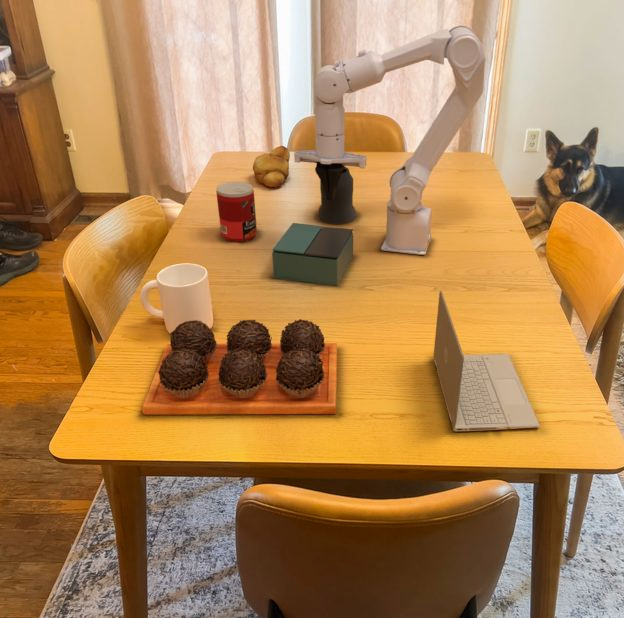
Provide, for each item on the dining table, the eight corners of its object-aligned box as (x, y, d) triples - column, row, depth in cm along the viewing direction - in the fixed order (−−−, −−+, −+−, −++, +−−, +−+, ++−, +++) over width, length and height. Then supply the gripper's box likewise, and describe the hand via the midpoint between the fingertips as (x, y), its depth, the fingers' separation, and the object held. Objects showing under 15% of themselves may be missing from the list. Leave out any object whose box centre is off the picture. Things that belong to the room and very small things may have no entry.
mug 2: (355, 224, 154) (356, 177, 147) (316, 223, 154) (314, 176, 148) (357, 204, 164) (357, 159, 157) (320, 204, 164) (319, 158, 158)
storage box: (353, 256, 140) (353, 229, 137) (337, 285, 130) (337, 256, 126) (293, 250, 143) (292, 222, 139) (273, 278, 132) (271, 249, 129)
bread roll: (288, 190, 171) (286, 159, 166) (250, 190, 171) (247, 159, 166) (291, 172, 182) (290, 143, 177) (255, 172, 181) (253, 143, 177)
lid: (353, 230, 137) (353, 229, 137) (336, 258, 127) (336, 256, 126) (323, 228, 138) (323, 226, 138) (304, 255, 128) (304, 253, 128)
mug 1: (138, 337, 114) (127, 284, 109) (153, 312, 121) (144, 261, 115) (207, 340, 114) (199, 287, 108) (219, 315, 121) (212, 264, 115)
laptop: (539, 430, 95) (556, 354, 88) (452, 433, 95) (461, 357, 87) (508, 357, 110) (520, 287, 103) (432, 359, 109) (438, 289, 102)
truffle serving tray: (336, 350, 111) (336, 307, 107) (336, 415, 98) (335, 368, 93) (167, 351, 111) (159, 307, 106) (143, 415, 97) (133, 368, 93)
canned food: (251, 244, 145) (246, 195, 139) (215, 240, 146) (210, 192, 140) (261, 229, 151) (258, 182, 145) (228, 226, 153) (223, 180, 146)
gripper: (288, 135, 130) (291, 201, 138) (361, 141, 127) (360, 208, 135) (299, 125, 136) (301, 189, 143) (369, 130, 133) (367, 196, 140)
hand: (330, 198), depth 139 cm, fingers closed
